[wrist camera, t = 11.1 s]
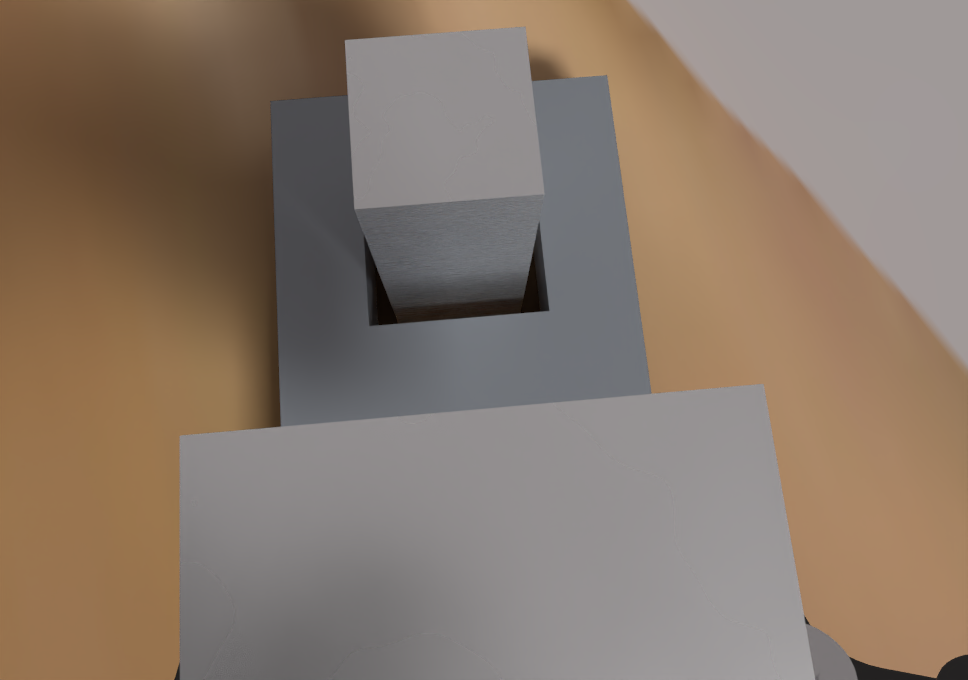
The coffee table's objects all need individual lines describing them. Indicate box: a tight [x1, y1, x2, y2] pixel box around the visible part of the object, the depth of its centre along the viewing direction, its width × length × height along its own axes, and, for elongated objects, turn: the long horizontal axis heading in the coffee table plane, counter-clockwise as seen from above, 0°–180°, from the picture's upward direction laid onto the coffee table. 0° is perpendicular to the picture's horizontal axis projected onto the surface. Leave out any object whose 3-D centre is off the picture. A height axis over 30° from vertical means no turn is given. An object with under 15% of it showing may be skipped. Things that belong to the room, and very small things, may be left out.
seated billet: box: [345, 27, 545, 324], centre depth 25 cm, size 4×4×11 cm
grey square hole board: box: [270, 75, 651, 427], centre depth 27 cm, size 22×12×3 cm, turn 5°
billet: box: [180, 384, 815, 680], centre depth 11 cm, size 4×4×11 cm
